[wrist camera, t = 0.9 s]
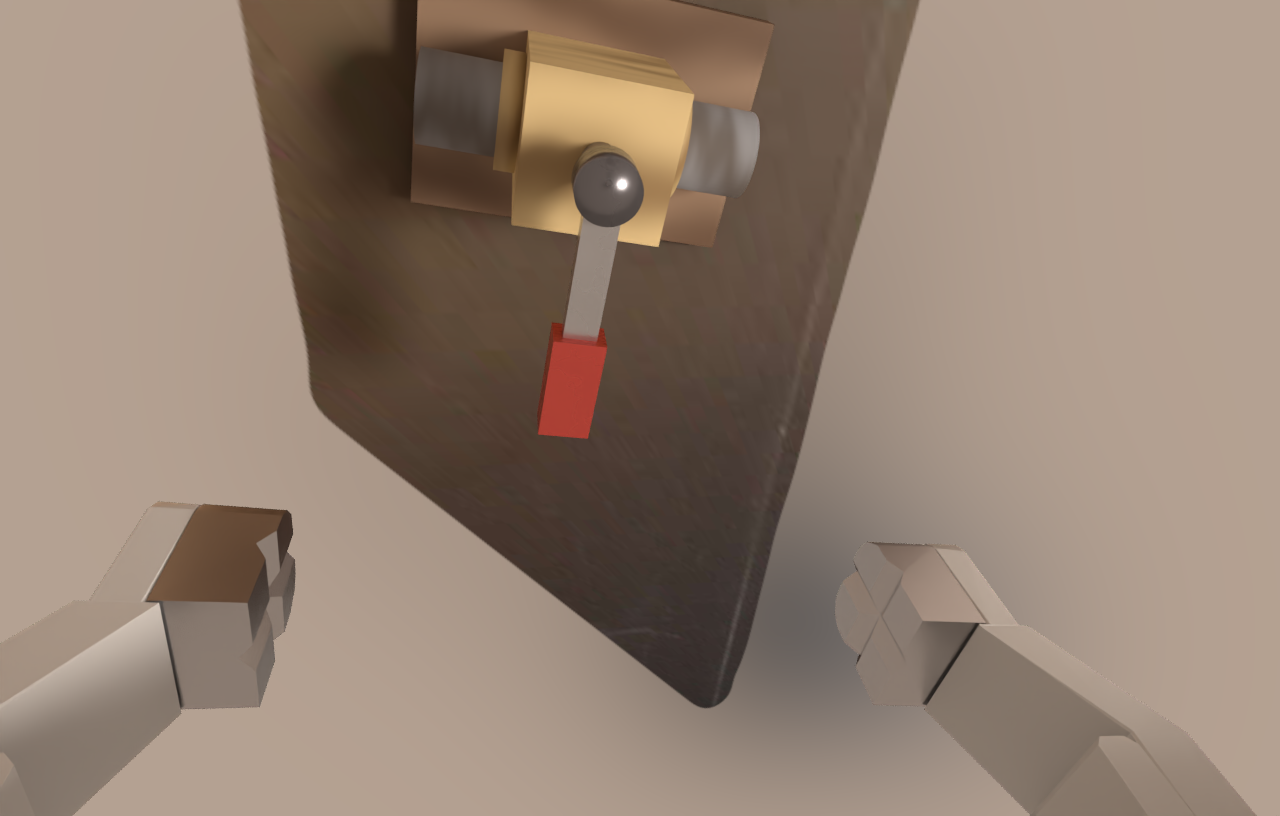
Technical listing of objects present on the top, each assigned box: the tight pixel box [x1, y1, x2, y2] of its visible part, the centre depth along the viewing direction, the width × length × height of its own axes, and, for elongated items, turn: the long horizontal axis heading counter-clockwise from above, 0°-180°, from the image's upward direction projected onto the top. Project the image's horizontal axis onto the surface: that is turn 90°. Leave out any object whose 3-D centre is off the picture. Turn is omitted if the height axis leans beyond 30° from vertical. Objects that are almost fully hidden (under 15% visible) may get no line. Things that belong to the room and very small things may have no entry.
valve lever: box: [537, 145, 644, 439], centre depth 37 cm, size 16×3×2 cm, turn 168°
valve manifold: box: [411, 0, 775, 248], centre depth 40 cm, size 14×20×13 cm
